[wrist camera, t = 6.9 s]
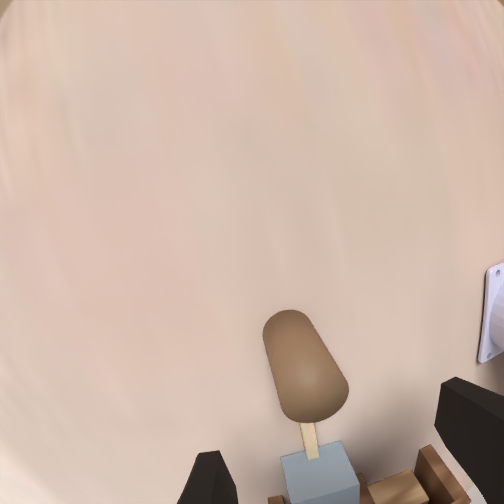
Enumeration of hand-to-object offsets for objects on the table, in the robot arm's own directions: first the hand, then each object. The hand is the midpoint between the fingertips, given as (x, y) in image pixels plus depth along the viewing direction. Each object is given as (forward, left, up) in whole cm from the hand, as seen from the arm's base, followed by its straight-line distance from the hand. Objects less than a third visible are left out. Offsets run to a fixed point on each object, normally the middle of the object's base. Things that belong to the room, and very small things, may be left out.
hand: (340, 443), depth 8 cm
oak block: (-7, +21, -10) cm, 24 cm away
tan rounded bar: (0, +7, -9) cm, 12 cm away
